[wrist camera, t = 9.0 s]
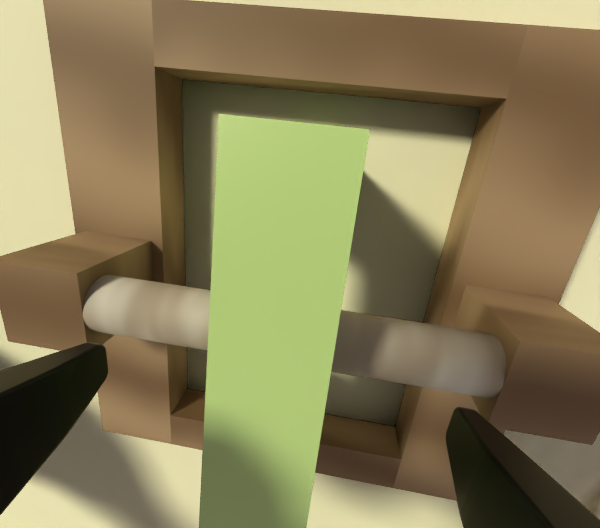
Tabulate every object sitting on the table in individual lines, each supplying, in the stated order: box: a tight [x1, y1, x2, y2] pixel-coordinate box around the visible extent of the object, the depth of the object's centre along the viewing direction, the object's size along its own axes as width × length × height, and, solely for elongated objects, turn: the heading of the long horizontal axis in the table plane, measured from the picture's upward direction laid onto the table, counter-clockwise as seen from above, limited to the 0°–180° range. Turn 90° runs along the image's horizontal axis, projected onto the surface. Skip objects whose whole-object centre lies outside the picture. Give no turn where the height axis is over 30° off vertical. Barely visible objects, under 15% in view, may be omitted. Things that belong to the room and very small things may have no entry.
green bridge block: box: [199, 114, 370, 528], centre depth 11 cm, size 12×3×7 cm, turn 174°
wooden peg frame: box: [0, 0, 600, 500], centre depth 12 cm, size 20×20×6 cm
